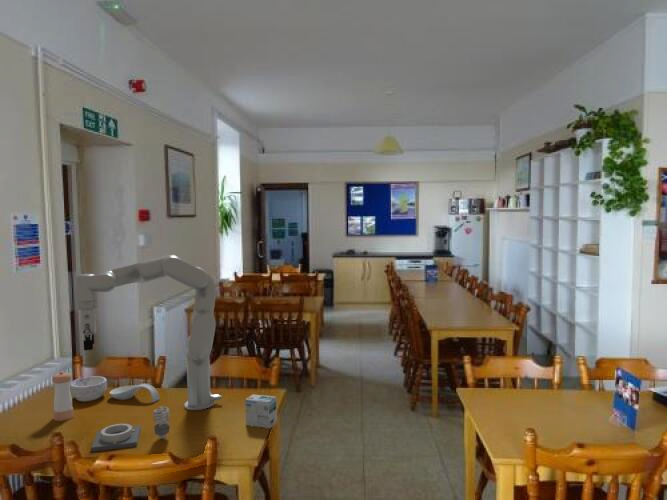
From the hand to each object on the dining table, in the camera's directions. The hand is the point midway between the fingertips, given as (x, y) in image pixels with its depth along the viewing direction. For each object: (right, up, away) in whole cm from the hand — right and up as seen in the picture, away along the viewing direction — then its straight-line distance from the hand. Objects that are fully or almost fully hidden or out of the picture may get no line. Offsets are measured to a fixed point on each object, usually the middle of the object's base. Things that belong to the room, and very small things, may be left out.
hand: (89, 347), depth 209 cm
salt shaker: (-13, -30, +4) cm, 33 cm away
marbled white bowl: (-13, -29, +27) cm, 41 cm away
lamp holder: (+19, -31, -18) cm, 40 cm away
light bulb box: (+70, -30, -5) cm, 76 cm away
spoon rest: (+8, -29, +26) cm, 39 cm away
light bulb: (+35, -31, -17) cm, 50 cm away
